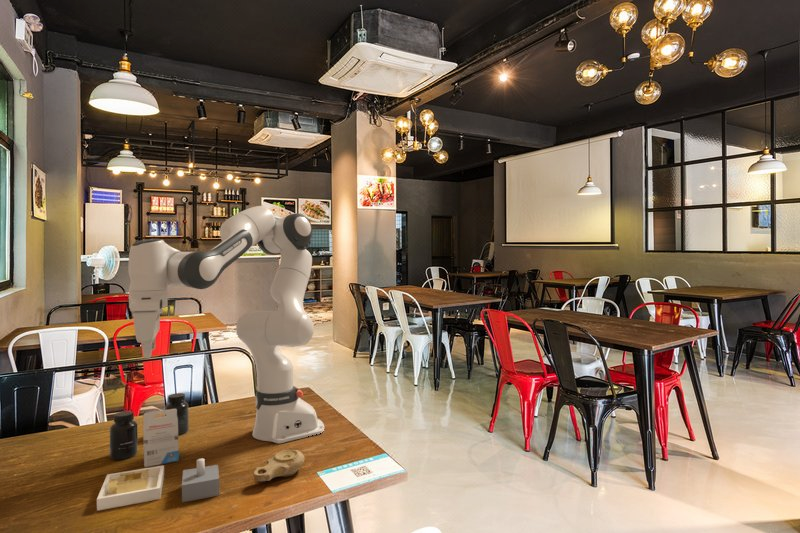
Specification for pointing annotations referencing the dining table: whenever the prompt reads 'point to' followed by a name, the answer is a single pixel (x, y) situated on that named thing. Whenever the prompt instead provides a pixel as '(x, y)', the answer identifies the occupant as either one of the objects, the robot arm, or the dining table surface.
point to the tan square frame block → (129, 482)
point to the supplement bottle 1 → (123, 436)
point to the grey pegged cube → (200, 482)
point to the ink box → (160, 437)
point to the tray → (134, 496)
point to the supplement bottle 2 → (179, 411)
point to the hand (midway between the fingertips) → (149, 353)
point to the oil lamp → (280, 465)
